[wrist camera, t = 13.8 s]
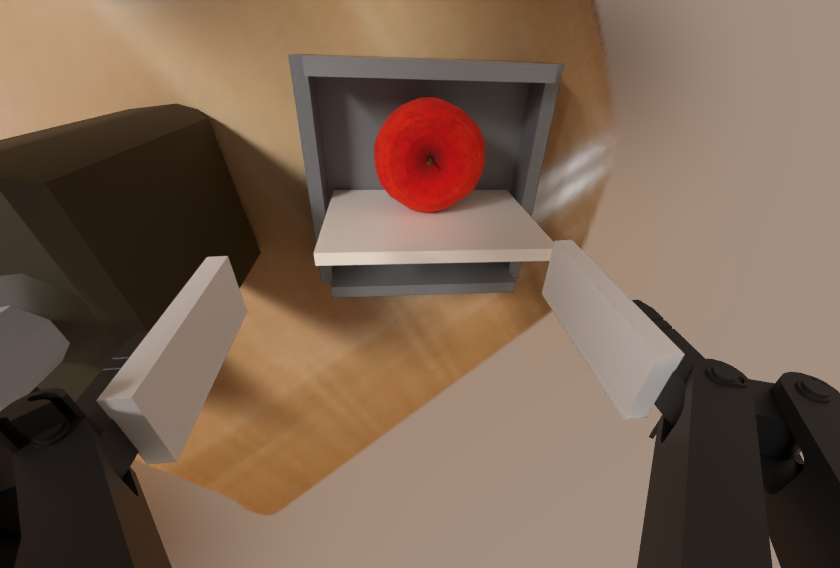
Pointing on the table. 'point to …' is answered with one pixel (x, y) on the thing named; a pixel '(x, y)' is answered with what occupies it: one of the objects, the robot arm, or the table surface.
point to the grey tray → (367, 112)
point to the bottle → (106, 238)
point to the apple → (429, 154)
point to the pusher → (428, 231)
